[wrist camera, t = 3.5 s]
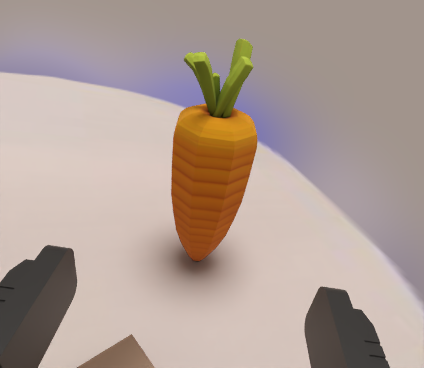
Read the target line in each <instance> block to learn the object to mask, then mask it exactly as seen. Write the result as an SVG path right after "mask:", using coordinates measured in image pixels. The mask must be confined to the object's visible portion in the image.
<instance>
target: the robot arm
mask: <svg viewBox="0 0 424 368" xmlns="http://www.w3.org/2000/svg"><path fill="white" fill-rule="evenodd" d="M76 287H77V276H76V267H75V259H74V252H73V250H72V249H71V248H64V247H58V246H51V245H47V246H45V247H44V248H43V249H42V251H41V252H40V254H39V255H38V256H37V258H36V259H35V260H27V259H26V260H24V261H23V262H21V263H20V264H18V265H17V266H16V267H14V268H13V269H11V270H10V271H9V272H8V273H7V274H6V276H5V277H4V278H3V280H2V281H1V282H0V368H38V366H39V364H40V362H41V360H42V358H43V356H44V354H45V352H46V351H47V349H48V347H49V345H50V343H51V341H52V339H53V337H54V335H55V333H56V331H57V329H58V327H59V325H60V323H61V321H62V319H63V318H64V316H65V314H66V312H67V310H68V308H69V306H70V304H71V302H72V300H73V298H74V295H75V292H76ZM305 337H306V343H307V348H308V353H309V359H310V364H311V368H390V367H389V364H388V362H387V361H386V359H385V357H386V356H385V354H384V351H383V349H382V346H380V341H379V338H378V336H377V333H376V331H375V328H374V326H373V324H372V323H371V322H370V320H369V319H368V318H367V317H366V315H365V314H364V313H363V311H362V310H359V309H353V307H352V304H351V301H350V298H349V295H348V293H347V292H346V291H345V290H341V289H334V288H328V287H320V288H319V289H318V291H317V293H316V296H315V298H314V300H313V302H312V304H311V306H310V309H309V311H308V313H307V315H306V319H305Z"/></svg>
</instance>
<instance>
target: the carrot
mask: <svg viewBox="0 0 424 368" xmlns="http://www.w3.org/2000/svg"><path fill="white" fill-rule="evenodd" d="M252 48H253V47H252V45H251V44H250V43H249V42H248V41H247V40H244V39H239V40H237V41H236V45H235V50H234V53H233V58H232V63H231V68H230V73H229V76H228V77H227V79H226V81H225V83H224V85H223V88H222V90H221V92H220V78H219V75H218V74H217V73H213V74H212V68H211V65H210V62H209V58H208V57H207V55H206V53H203V52H198V53H194V54H193V53H191V52H190V53H188V54H187V55H186V56H185V58H184V61H185V62H186V63H187V65H188V66H189V67H190V68H191V69H192V70H193V72H194V74H195V76H196V78H197V80H198V82H199V84H200V87H201V89H202V92H203V95H204V99H205V101H206V104H201V105H196V106H192V107H188V108H186V109H184V110H183V111H182V112H181V113H180V115H179V118H178V121H177V125H176V128H175V132H174V137H173V156H172V189H171V195H172V204H173V213H174V219H175V225H176V230H177V233H178V236H179V238H180V241H181V243H182V245H183V247H184V249H185V250H186V252H187V254H188V255H189V257H190V258H192V259H193V260H194V261H201V260H202V259H204V258H205V257H206V256H207V255H209V254H210V253H211V252H212V251H213V250H214V249H215V248H216V247H217V246H218V245H219V243H220V242H221V241H222V239H223V238H224V237H225V236H226V234H227V232H228V230H229V228H230V226H231V224H232V222H233V220H234V218H235V216H236V213H237V211H238V209H239V207H240V205H241V202H242V199H243V196H244V192H245V189H246V186H247V182H248V179H249V175H250V171H251V168H252V164H253V160H254V156H255V152H256V149H257V133H256V129H255V125H254V122H253V120H252V119H251V118H250V116H248V115H247V114H245V113H243V112H241V111H239V110H237V109H235V108H233V107H234V104H235V102H236V99H237V97H238V94H239V92H240V89H241V87H242V84H243V82H244V81H245V79H246V78H247V77H248V75H249V73H250V71H251V70H252V69H253V65H252V62H251V61H250V58H251V53H252Z"/></svg>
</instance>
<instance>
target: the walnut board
mask: <svg viewBox="0 0 424 368" xmlns="http://www.w3.org/2000/svg"><path fill="white" fill-rule="evenodd" d="M77 368H154V366H153V365H152V363H151V362H150V360H149V359H148V357H147V356H146V354H145V353H144V351H143V350H142V349H141V347H140V346H139V344H138V343H137V341H136V340H135V338H134V337H133V335H132V334H131V335H130V336H128V337H126V338H125V339H123V340H121V341H120V342H118V343H117V344H115V345H113V346H112V347H110V348H108V349H107V350H105V351H103V352H102V353H100V354H99V355H97V356H95V357H94V358H92V359H90V360H89V361H87V362H85V363H84V364H82V365H81V366H79V367H77Z"/></svg>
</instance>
